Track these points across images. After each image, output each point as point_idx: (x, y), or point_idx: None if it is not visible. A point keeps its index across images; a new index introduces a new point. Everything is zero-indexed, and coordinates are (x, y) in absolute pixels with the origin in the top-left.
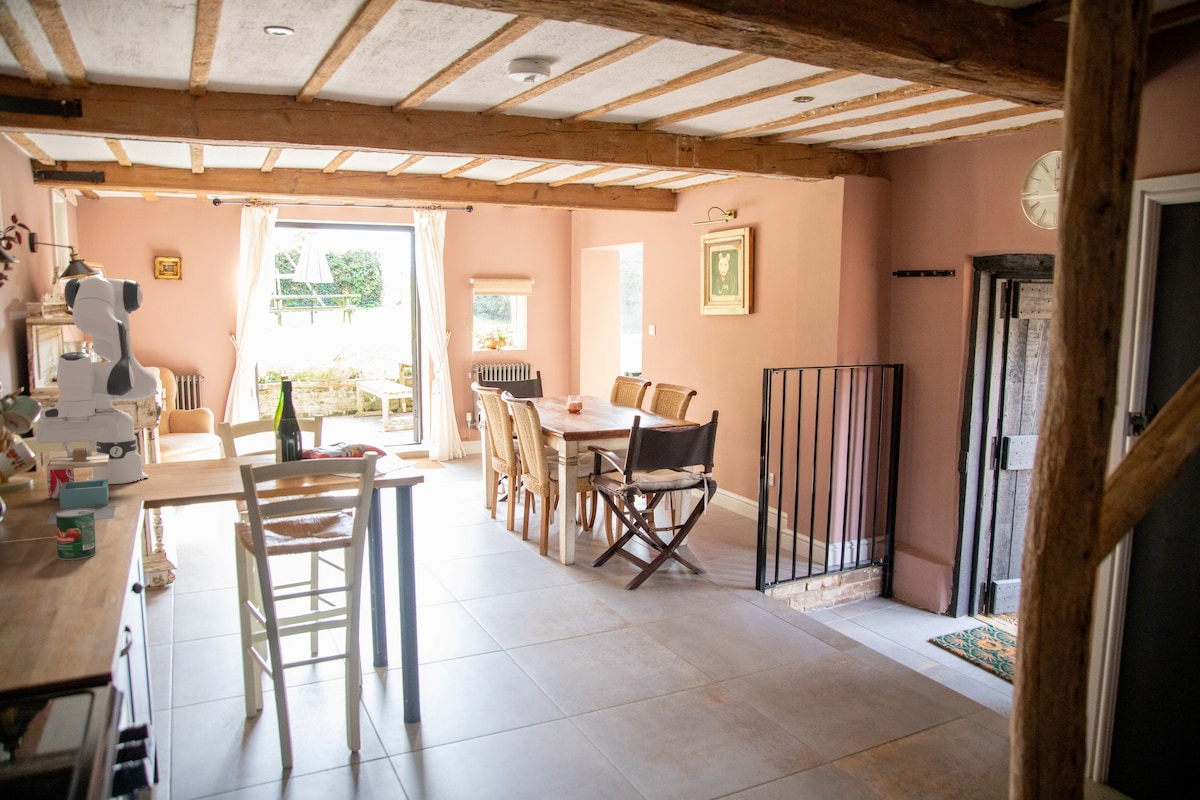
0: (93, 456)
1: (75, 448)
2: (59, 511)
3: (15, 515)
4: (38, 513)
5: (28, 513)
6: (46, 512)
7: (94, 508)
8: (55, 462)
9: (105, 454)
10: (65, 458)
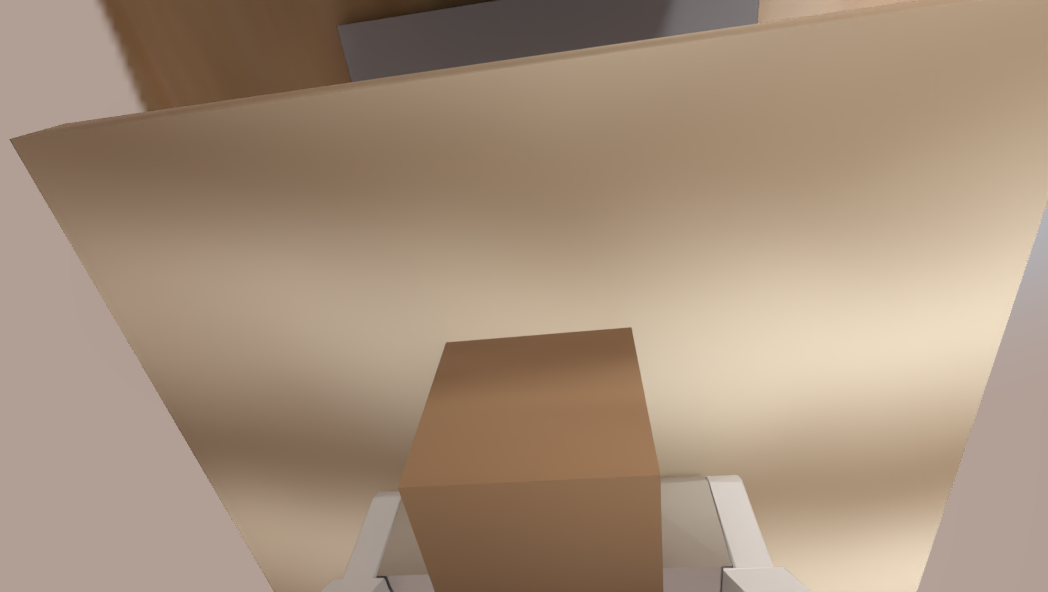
0: (745, 224)
1: (435, 499)
2: (394, 57)
3: (139, 48)
4: (261, 27)
5: (192, 5)
6: (302, 8)
7: (614, 22)
8: (295, 532)
9: (1026, 13)
10: (297, 302)
